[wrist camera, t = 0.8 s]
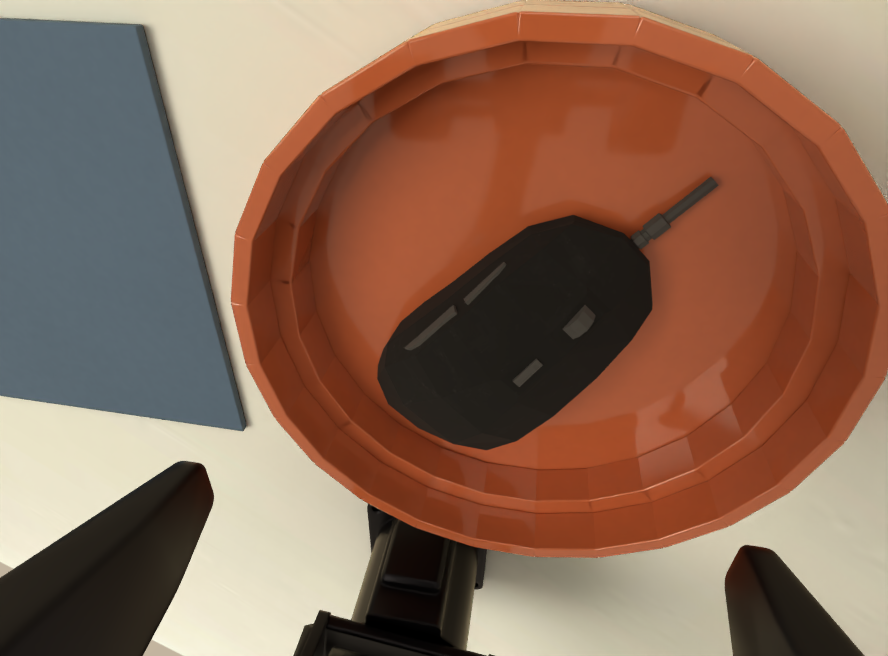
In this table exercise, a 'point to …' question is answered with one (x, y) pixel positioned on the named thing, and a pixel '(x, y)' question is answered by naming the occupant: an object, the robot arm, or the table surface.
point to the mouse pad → (100, 234)
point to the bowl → (595, 199)
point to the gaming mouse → (523, 329)
